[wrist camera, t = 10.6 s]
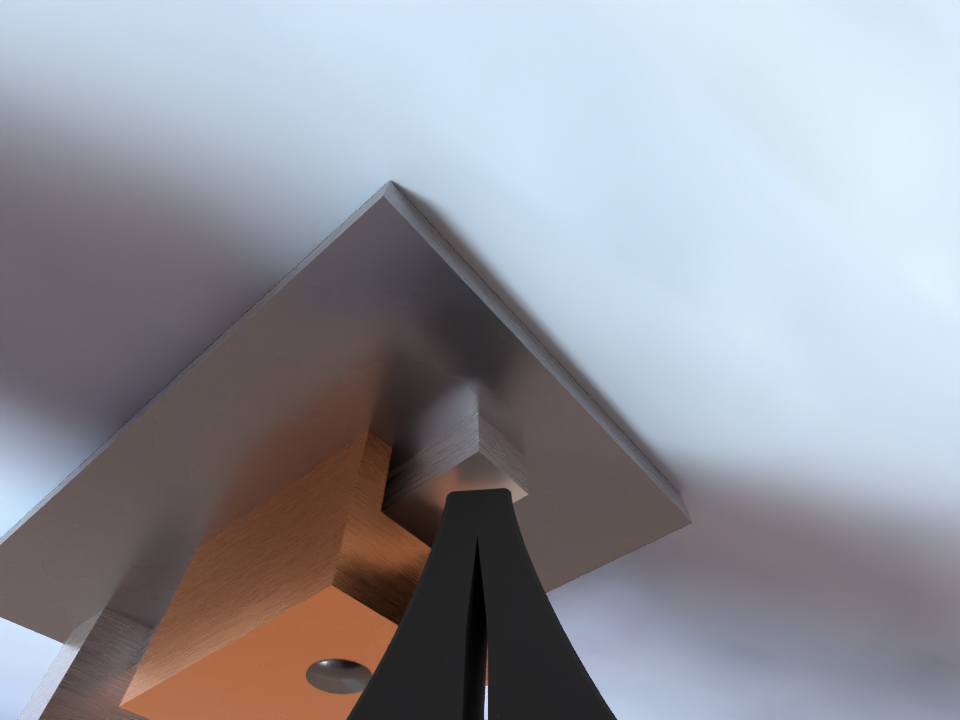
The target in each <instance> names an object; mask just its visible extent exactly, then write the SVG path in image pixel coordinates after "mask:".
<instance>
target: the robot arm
mask: <svg viewBox="0 0 960 720" xmlns="http://www.w3.org/2000/svg"><path fill="white" fill-rule="evenodd" d="M487 644H488V720H617V719H616V717H615V716H614V714H613V713H612V711H611V710H610V708H609V707H608V705H607V704H606V702H605V701H604V699H603V697H602V696H601V694H600V692H599V691H598V689H597V687H596V686H595V684H594V682H593V681H592V679H591V678H590V676H589V674H588V673H587V671H586V669H585V667H584V666H583V664H582V662H581V660H580V659H579V657H578V655H577V653H576V652H575V650H574V648H573V646H572V645H571V643H570V641H569V639H568V637H567V635H566V633H565V631H564V630H563V628H562V626H561V624H560V622H559V620H558V618H557V616H556V614H555V612H554V610H553V608H552V606H551V604H550V602H549V600H548V598H547V595H546V593H545V591H544V589H543V587H542V585H541V582H540V580H539V578H538V575H537V573H536V571H535V568H534V566H533V563H532V561H531V559H530V556H529V554H528V551H527V548H526V546H525V543H524V540H523V537H522V534H521V531H520V528H519V525H518V522H517V519H516V515H515V511H514V506H513V502H512V495H511V491H510V490H508V489H507V488H496V489H481V490H466V491H451V492H450V493H449V494H448V495H447V497H446V502H445V506H444V510H443V514H442V518H441V521H440V525H439V528H438V531H437V534H436V537H435V540H434V543H433V546H432V549H431V551H430V554H429V556H428V559H427V562H426V564H425V567H424V569H423V572H422V574H421V577H420V579H419V582H418V584H417V587H416V589H415V591H414V593H413V596H412V598H411V600H410V602H409V604H408V606H407V609H406V611H405V613H404V615H403V617H402V619H401V622H400V624H399V626H398V628H397V630H396V632H395V634H394V636H393V638H392V640H391V642H390V644H389V646H388V648H387V650H386V651H385V653H384V655H383V657H382V659H381V661H380V663H379V664H378V666H377V668H376V670H375V672H374V673H373V675H372V677H371V679H370V681H369V682H368V684H367V686H366V687H365V689H364V691H363V692H362V694H361V696H360V697H359V699H358V701H357V702H356V704H355V706H354V707H353V709H352V711H351V712H350V714H349V716H348V717H347V719H346V720H484V702H485V682H486V663H487Z"/></svg>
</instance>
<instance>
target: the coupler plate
mask: <svg viewBox="0 0 960 720" xmlns="http://www.w3.org/2000/svg"><path fill="white" fill-rule="evenodd" d="M367 430H370V431H371V432H372V433H374V434H375V435H376V436H377V437H379V438H380V439H381V440H382V441H384V442H385V443H386V444H387V445H389V446H390V447H391V448H392V451H391V457H390V462H389V468H388V474H387V479H386V485H385V490H384V496H383V502H382V507H381V512H382V513H383V514H385V515H386V516H388V517H389V518H390V519H392V520H393V521H394V522H396V523H397V524H399V525H400V526H401V527H403V528H404V529H405V530H407V531H408V532H410V533H411V534H412V535H414V536H415V537H416V538H418V539H419V540H421V541H422V542H423V543H425V544H426V545H427V546H429V547H430V548H432V546H433V543H434V540H435V537H436V534H437V531H438V528H439V525H440V521H441V518H442V514H443V510H444V506H445V502H446V497H447V495H448V494H449V493H450V492H451V491H466V490H481V489H496V488H507V489H508V490H510V491H511V495H512V502H513V506H514V511H515V515H516V519H517V522H518V525H519V528H520V531H521V534H522V537H523V540H524V543H525V546H526V548H527V551H528V554H529V556H530V559H531V561H532V563H533V566H534V568H535V571H536V573H537V575H538V578H539V580H540V582H541V585H542V587H543V589H544V591H545V593H547V592H549V591H551V590H553V589H555V588H557V587H559V586H561V585H563V584H565V583H567V582H569V581H572V580H574V579H576V578H578V577H580V576H582V575H584V574H586V573H588V572H590V571H592V570H594V569H597V568H599V567H601V566H603V565H605V564H607V563H609V562H611V561H613V560H615V559H617V558H619V557H622V556H624V555H626V554H628V553H630V552H632V551H634V550H636V549H638V548H640V547H642V546H644V545H646V544H649V543H651V542H653V541H655V540H657V539H659V538H661V537H663V536H665V535H667V534H669V533H671V532H674V531H676V530H678V529H680V528H682V527H684V526H686V525H688V524H690V523H692V521H691V519H690V516H689V514H688V511H687V509H686V506H685V504H684V501H683V499H682V497H681V495H680V494H679V493H678V491H677V490H676V489H675V488H674V487H673V486H672V485H671V484H670V483H669V482H668V481H667V480H666V478H665V477H664V476H663V475H662V474H661V473H660V472H659V471H658V470H657V469H656V468H655V467H654V465H653V464H652V463H651V462H650V461H649V460H648V459H647V458H646V457H645V456H644V455H643V454H642V452H641V451H640V450H639V449H638V448H637V447H636V446H635V445H634V444H633V443H632V442H631V441H630V439H629V438H628V437H627V436H626V435H625V434H624V433H623V432H622V431H621V430H620V429H619V428H618V426H617V425H616V424H615V423H614V422H613V421H612V420H611V419H610V418H609V417H608V416H607V415H606V413H605V412H604V411H603V410H602V409H601V408H600V407H599V406H598V405H597V404H596V403H595V402H594V400H593V399H592V398H591V397H590V396H589V395H588V394H587V393H586V392H585V391H584V390H583V389H582V387H581V386H580V385H579V384H578V383H577V382H576V381H575V380H574V379H573V378H572V377H571V376H570V374H569V373H568V372H567V371H566V370H565V369H564V368H563V367H562V366H561V365H560V364H559V363H558V361H557V360H556V359H555V358H554V357H553V356H552V355H551V354H550V353H549V352H548V351H547V350H546V348H545V347H544V346H543V345H542V344H541V343H540V342H539V341H538V340H537V339H536V338H535V337H534V335H533V334H532V333H531V332H530V331H529V330H528V329H527V328H526V327H525V326H524V325H523V324H522V322H521V321H520V320H519V319H518V318H517V317H516V316H515V315H514V314H513V313H512V312H511V311H510V309H509V308H508V307H507V306H506V305H505V304H504V303H503V302H502V301H501V300H500V299H499V298H498V296H497V295H496V294H495V293H494V292H493V291H492V290H491V289H490V288H489V287H488V286H487V285H486V283H485V282H484V281H483V280H482V279H481V278H480V277H479V276H478V275H477V274H476V273H475V272H474V270H473V269H472V268H471V267H470V266H469V265H468V264H467V263H466V262H465V261H464V260H463V259H462V257H461V256H460V255H459V254H458V253H457V252H456V251H455V250H454V249H453V248H452V247H451V246H450V244H449V243H448V242H447V241H446V240H445V239H444V238H443V237H442V236H441V235H440V234H439V233H438V231H437V230H436V229H435V228H434V227H433V226H432V225H431V224H430V223H429V222H428V221H427V220H426V218H425V217H424V216H423V215H422V214H421V213H420V212H419V211H418V210H417V209H416V208H415V207H414V205H413V204H412V203H411V202H410V201H409V200H408V199H407V198H406V197H405V196H404V195H403V194H402V192H401V191H400V190H399V189H398V188H397V187H396V186H395V185H394V184H393V183H392V182H391V181H389V182H387V183H386V184H385V185H384V186H383V187H382V188H381V189H380V190H379V191H378V192H377V193H376V194H374V195H373V196H372V197H371V198H370V199H369V200H368V201H367V202H366V203H365V204H364V205H362V206H361V207H360V208H359V209H358V210H357V211H356V212H355V213H354V214H353V215H352V216H351V217H349V218H348V219H347V220H346V221H345V222H344V223H343V224H342V225H341V226H340V227H339V228H337V229H336V230H335V231H334V232H333V233H332V234H331V235H330V236H329V237H328V238H327V239H326V240H324V241H323V242H322V243H321V244H320V245H319V246H318V247H317V248H316V249H315V250H314V251H312V252H311V253H310V254H309V255H308V256H307V257H306V258H305V259H304V260H303V261H302V262H301V263H299V264H298V265H297V266H296V267H295V268H294V269H293V270H292V271H291V272H290V273H289V274H287V275H286V276H285V277H284V278H283V279H282V280H281V281H280V282H279V283H278V284H277V285H276V286H274V287H273V288H272V289H271V290H270V291H269V292H268V293H267V294H266V295H265V296H264V297H262V298H261V299H260V300H259V301H258V302H257V303H256V304H255V305H254V306H253V307H252V308H251V309H249V310H248V311H247V312H246V313H245V314H244V315H243V316H242V317H241V318H240V319H239V320H237V321H236V322H235V323H234V324H233V325H232V326H231V327H230V328H229V329H228V330H227V331H226V332H224V333H223V334H222V335H221V336H220V337H219V338H218V339H217V340H216V341H215V342H214V343H213V344H211V345H210V346H209V347H208V348H207V349H206V350H205V351H204V352H203V353H202V354H201V355H199V356H198V357H197V358H196V359H195V360H194V361H193V362H192V363H191V364H190V365H189V366H188V367H186V368H185V369H184V370H183V371H182V372H181V373H180V374H179V375H178V376H177V377H176V378H174V379H173V380H172V381H171V382H170V383H169V384H168V385H167V386H166V387H165V388H164V389H163V390H161V391H160V392H159V393H158V394H157V395H156V396H155V397H154V398H153V399H152V400H151V401H149V402H148V403H147V404H146V405H145V406H144V407H143V408H142V409H141V410H140V411H139V412H138V413H136V414H135V415H134V416H133V417H132V418H131V419H130V420H129V421H128V422H127V423H126V424H124V425H123V426H122V427H121V428H120V429H119V430H118V431H117V432H116V433H115V434H114V435H113V436H111V437H110V438H109V439H108V440H107V441H106V442H105V443H104V444H103V445H102V446H101V447H99V448H98V449H97V450H96V451H95V452H94V453H93V454H92V455H91V456H90V457H89V458H88V459H86V460H85V461H84V462H83V463H82V464H81V465H80V466H79V467H78V468H77V469H76V470H74V471H73V472H72V473H71V474H70V475H69V476H68V477H67V478H66V479H65V480H64V481H63V482H61V483H60V484H59V485H58V486H57V487H56V488H55V489H54V490H53V491H52V492H51V493H49V494H48V495H47V496H46V497H45V498H44V499H43V500H42V501H41V502H40V503H39V504H38V505H36V506H35V507H34V508H33V509H32V510H31V511H30V512H29V513H28V514H27V515H26V516H25V517H23V518H22V519H21V520H20V521H19V522H18V523H17V524H16V525H15V526H14V527H13V528H11V529H10V530H9V531H8V532H7V533H6V534H5V535H4V536H3V537H2V538H1V539H0V617H2V618H4V619H7V620H9V621H11V622H14V623H16V624H18V625H21V626H23V627H26V628H28V629H30V630H33V631H35V632H37V633H40V634H42V635H45V636H47V637H49V638H52V639H54V640H57V641H59V642H61V643H64V645H63V647H62V648H61V650H60V652H59V653H58V655H57V656H56V658H55V660H54V661H53V663H52V664H51V666H50V668H49V669H48V671H47V673H46V674H45V676H44V677H43V679H42V681H41V682H40V684H39V685H38V687H37V689H36V690H35V692H34V693H33V695H32V697H31V698H30V700H29V701H28V703H27V705H26V706H25V708H24V709H23V711H22V713H21V714H20V716H19V718H18V719H17V720H151V719H149V718H146V717H144V716H141V715H139V714H136V713H133V712H131V711H128V710H126V709H123V708H121V707H119V705H120V703H121V701H122V699H123V697H124V695H125V693H126V691H127V689H128V687H129V685H130V683H131V681H132V679H133V677H134V675H135V673H136V671H137V669H138V667H139V665H140V663H141V661H142V659H143V657H144V655H145V652H146V650H147V648H148V646H149V644H150V642H151V640H152V638H153V636H154V634H155V632H156V630H157V628H158V626H159V624H160V622H161V620H162V618H163V616H164V614H165V612H166V610H167V608H168V606H169V604H170V602H171V600H172V598H173V596H174V594H175V592H176V590H177V588H178V586H179V584H180V582H181V580H182V578H183V576H184V574H185V571H186V569H187V567H188V565H189V563H190V561H191V559H192V557H193V555H194V553H195V551H196V549H197V548H198V547H200V546H201V545H202V544H204V543H205V542H207V541H208V540H210V539H211V538H213V537H214V536H215V535H217V534H218V533H220V532H221V531H223V530H224V529H226V528H227V527H228V526H230V525H231V524H233V523H234V522H236V521H237V520H239V519H240V518H241V517H243V516H244V515H246V514H247V513H249V512H250V511H252V510H253V509H255V508H256V507H257V506H259V505H260V504H262V503H263V502H265V501H266V500H268V499H269V498H270V497H272V496H273V495H275V494H276V493H278V492H279V491H281V490H282V489H283V488H285V487H286V486H288V485H289V484H291V483H292V482H294V481H295V480H296V479H298V478H299V477H301V476H302V475H304V474H305V473H307V472H308V471H309V470H311V469H312V468H314V467H315V466H317V465H318V464H320V463H321V462H322V461H324V460H325V459H327V458H328V457H330V456H331V455H333V454H334V453H335V452H337V451H338V450H340V449H341V448H343V447H344V446H346V445H347V444H348V443H350V442H351V441H353V440H354V439H356V438H357V437H359V436H360V435H362V434H363V433H364V432H366V431H367Z"/></svg>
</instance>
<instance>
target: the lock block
mask: <svg viewBox="0 0 960 720" xmlns="http://www.w3.org/2000/svg"><path fill="white" fill-rule="evenodd" d="M391 451H392V448H391V447H390V446H389V445H387V444H386V443H385V442H384V441H382V440H381V439H380V438H379V437H377V436H376V435H375V434H374V433H372V432H371V431H370V430H367V431H366V432H364V433H363V434H362V435H360V436H359V437H357V438H356V439H354V440H353V441H351V442H350V443H348V444H347V445H346V446H344V447H343V448H341V449H340V450H338V451H337V452H335V453H334V454H333V455H331V456H330V457H328V458H327V459H325V460H324V461H322V462H321V463H320V464H318V465H317V466H315V467H314V468H312V469H311V470H309V471H308V472H307V473H305V474H304V475H302V476H301V477H299V478H298V479H296V480H295V481H294V482H292V483H291V484H289V485H288V486H286V487H285V488H283V489H282V490H281V491H279V492H278V493H276V494H275V495H273V496H272V497H270V498H269V499H268V500H266V501H265V502H263V503H262V504H260V505H259V506H257V507H256V508H255V509H253V510H252V511H250V512H249V513H247V514H246V515H244V516H243V517H241V518H240V519H239V520H237V521H236V522H234V523H233V524H231V525H230V526H228V527H227V528H226V529H224V530H223V531H221V532H220V533H218V534H217V535H215V536H214V537H213V538H211V539H210V540H208V541H207V542H205V543H204V544H202V545H201V546H200V547H198V548H197V549H196V551H195V553H194V555H193V557H192V559H191V561H190V563H189V565H188V567H187V569H186V571H185V574H184V576H183V578H182V580H181V582H180V584H179V586H178V588H177V590H176V592H175V594H174V596H173V598H172V600H171V602H170V604H169V606H168V608H167V610H166V612H165V614H164V616H163V618H162V620H161V622H160V624H159V626H158V628H157V630H156V632H155V634H154V636H153V638H152V640H151V642H150V644H149V646H148V648H147V650H146V652H145V655H144V657H143V659H142V661H141V663H140V665H139V667H138V669H137V671H136V673H135V675H134V677H133V679H132V681H131V683H130V685H129V687H128V689H127V691H126V693H125V695H124V697H123V699H122V701H121V703H120V705H119V707H121V708H123V709H126V710H128V711H131V712H133V713H136V714H139V715H141V716H144V717H146V718H149V719H151V720H346V719H347V717H348V716H349V714H350V712H351V711H352V709H353V707H354V706H355V704H356V702H357V701H358V699H359V697H360V696H361V694H362V692H363V691H364V689H365V687H366V686H367V684H368V682H369V681H370V679H371V677H372V675H373V673H374V672H375V670H376V668H377V666H378V664H379V663H380V661H381V659H382V657H383V655H384V653H385V651H386V650H387V648H388V646H389V644H390V642H391V640H392V638H393V636H394V634H395V632H396V630H397V628H398V626H399V624H400V622H401V619H402V617H403V615H404V613H405V611H406V609H407V606H408V604H409V602H410V600H411V598H412V596H413V593H414V591H415V589H416V587H417V584H418V582H419V579H420V577H421V574H422V572H423V569H424V567H425V564H426V562H427V559H428V556H429V554H430V551H431V549H432V548H430V547H429V546H427V545H426V544H425V543H423V542H422V541H421V540H419V539H418V538H416V537H415V536H414V535H412V534H411V533H410V532H408V531H407V530H405V529H404V528H403V527H401V526H400V525H399V524H397V523H396V522H394V521H393V520H392V519H390V518H389V517H388V516H386V515H385V514H383V513H382V512H381V507H382V502H383V496H384V490H385V485H386V479H387V474H388V468H389V462H390V457H391ZM487 685H488V644H487V663H486V682H485V686H487Z"/></svg>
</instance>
